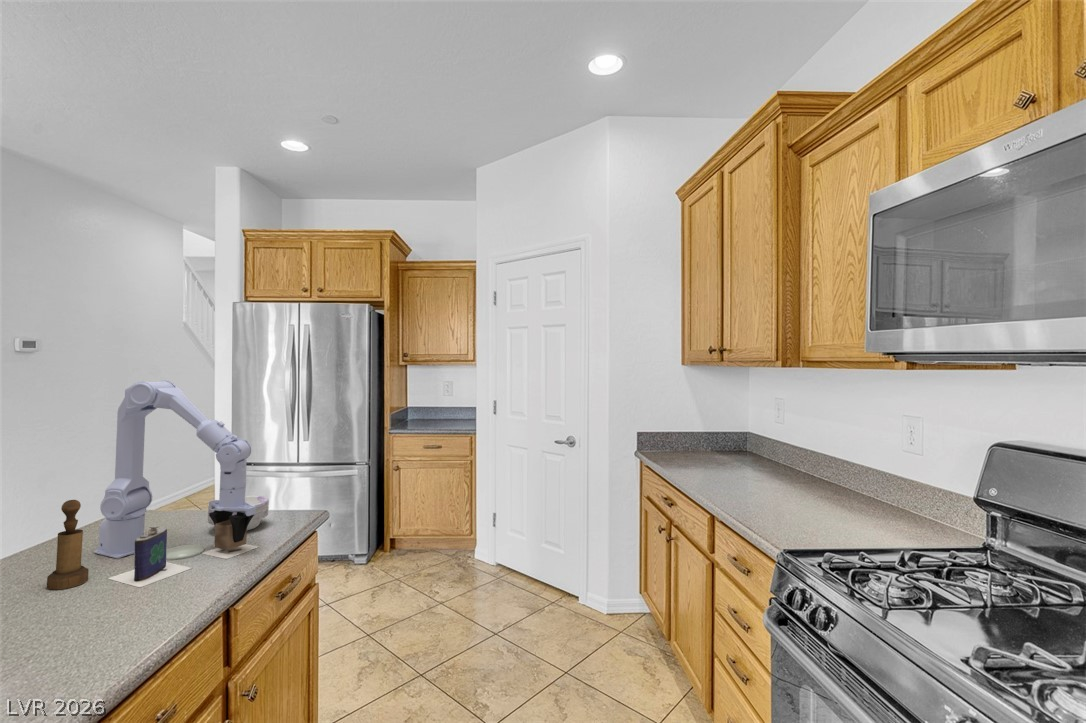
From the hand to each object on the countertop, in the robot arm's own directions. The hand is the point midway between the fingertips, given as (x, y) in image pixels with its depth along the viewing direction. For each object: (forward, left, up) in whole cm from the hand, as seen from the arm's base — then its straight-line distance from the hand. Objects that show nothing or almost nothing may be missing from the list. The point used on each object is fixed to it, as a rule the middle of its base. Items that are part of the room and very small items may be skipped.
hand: (230, 539), depth 126 cm
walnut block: (0, 0, -2) cm, 2 cm away
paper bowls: (-14, +13, -3) cm, 19 cm away
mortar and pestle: (-13, -27, -3) cm, 30 cm away
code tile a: (-3, -17, -3) cm, 17 cm away
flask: (-3, -17, -3) cm, 17 cm away
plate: (-9, -6, -3) cm, 11 cm away
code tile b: (0, 0, -3) cm, 3 cm away
